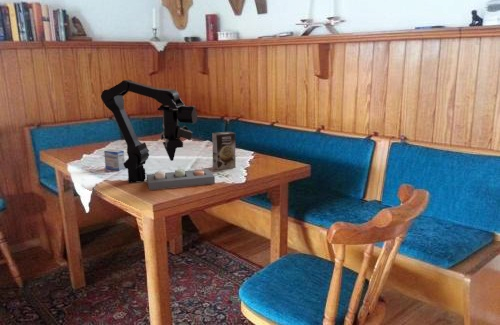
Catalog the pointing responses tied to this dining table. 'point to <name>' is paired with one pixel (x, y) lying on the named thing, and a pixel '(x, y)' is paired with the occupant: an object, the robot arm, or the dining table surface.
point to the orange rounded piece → (199, 173)
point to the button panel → (180, 180)
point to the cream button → (159, 175)
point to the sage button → (179, 173)
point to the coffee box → (223, 150)
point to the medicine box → (114, 159)
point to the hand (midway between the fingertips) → (171, 160)
